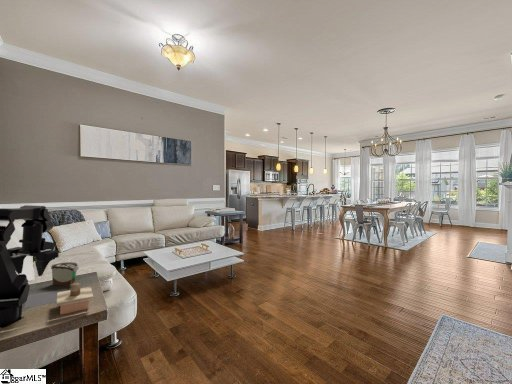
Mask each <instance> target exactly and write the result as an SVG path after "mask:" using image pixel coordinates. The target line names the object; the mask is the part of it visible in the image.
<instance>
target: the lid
mask: <svg viewBox="0 0 512 384" xmlns="http://www.w3.org/2000/svg"><path fill="white" fill-rule="evenodd" d="M81 285H82V283H81V282H75V283H74V284H72V285H71V287H70V289H69V290H68V289H67V291H62V292H57V302H56V307H60V306H62V305H67V304H71V303H76V302H81V301H86V300H89V301H90V300H94V295H93V290H92V286H87V287H81Z"/></svg>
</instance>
